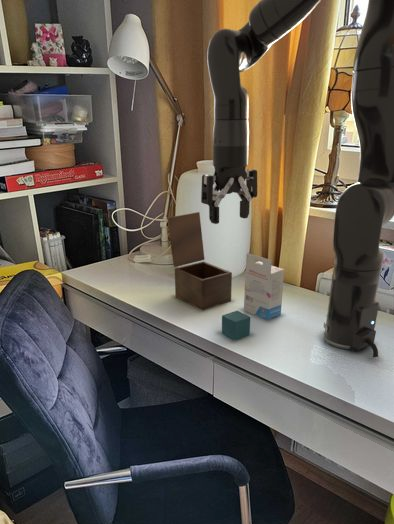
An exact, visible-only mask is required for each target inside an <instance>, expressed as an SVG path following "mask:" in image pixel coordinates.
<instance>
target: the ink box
mask: <svg viewBox="0 0 394 524" xmlns="http://www.w3.org/2000/svg"><path fill="white" fill-rule="evenodd" d="M245 256H246V257H245V258H246V259H245V271H244V273H245V274H244V296H243V297H244V298H243V310H244V311H245V312H248V313H250V314H253V315H255V316H258V317H259V318H262V319H264V320H266V321H269V320H272V319H274V318H276V317H278V316H281V315H282V303H283V293H284V292H283V291H284V278H285V269H284V268H281V267H277V266H274V265H273V260H271V259H269V258H266V257H262V256H260V255H256V254H253V253H249V252H247V253H246V255H245ZM255 261H256V262H255Z"/></svg>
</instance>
